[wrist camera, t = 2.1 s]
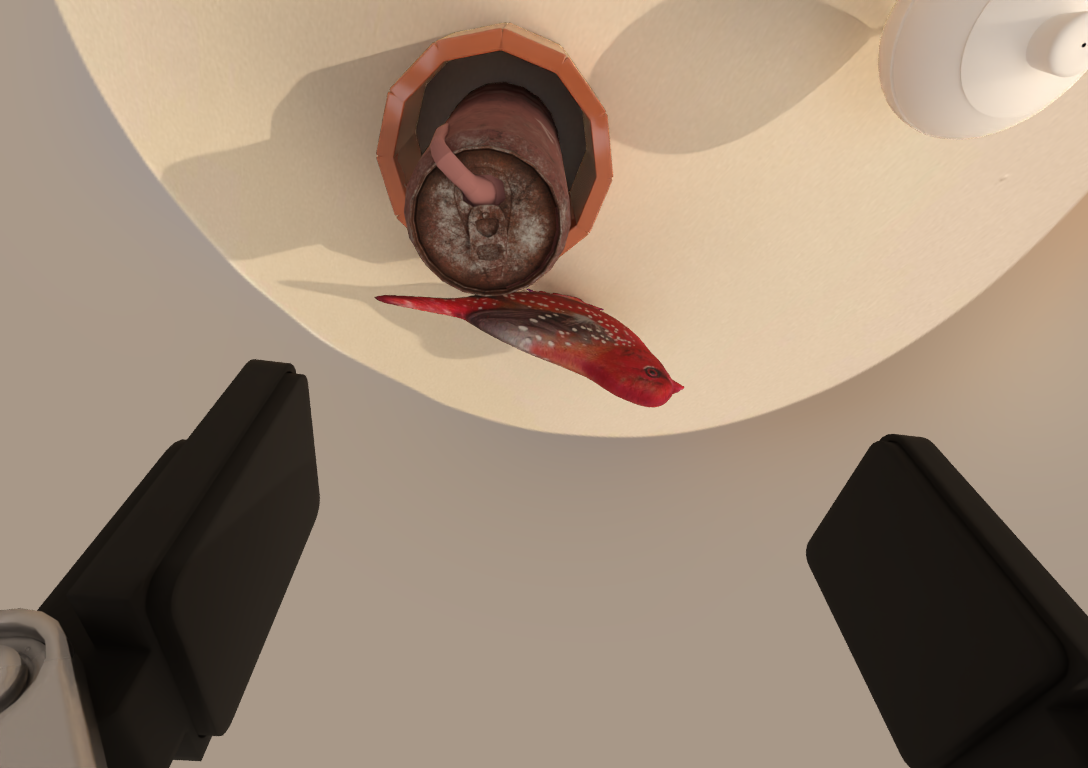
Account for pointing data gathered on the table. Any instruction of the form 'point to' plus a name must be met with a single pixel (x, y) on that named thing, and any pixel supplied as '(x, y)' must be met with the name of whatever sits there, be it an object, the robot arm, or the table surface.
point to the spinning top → (979, 61)
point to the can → (491, 194)
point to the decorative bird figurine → (562, 338)
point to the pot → (407, 93)
